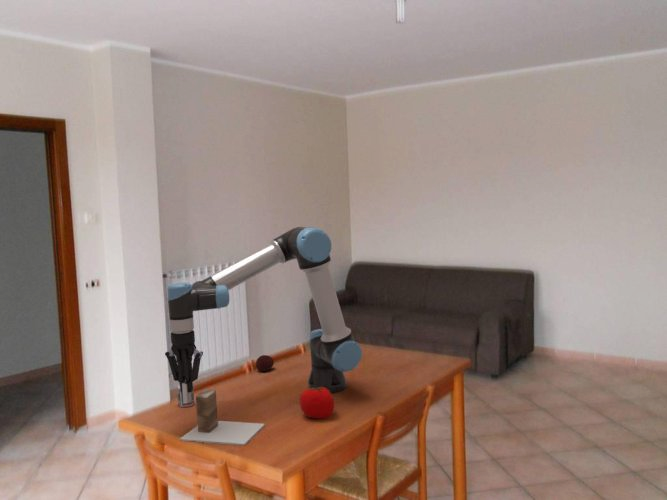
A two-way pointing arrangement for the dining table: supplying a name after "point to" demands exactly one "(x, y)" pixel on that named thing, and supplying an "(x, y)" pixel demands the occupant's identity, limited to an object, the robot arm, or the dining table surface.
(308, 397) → the tomato
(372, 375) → the dining table surface
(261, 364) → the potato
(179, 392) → the pill bottle
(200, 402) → the slab
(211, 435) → the mat
